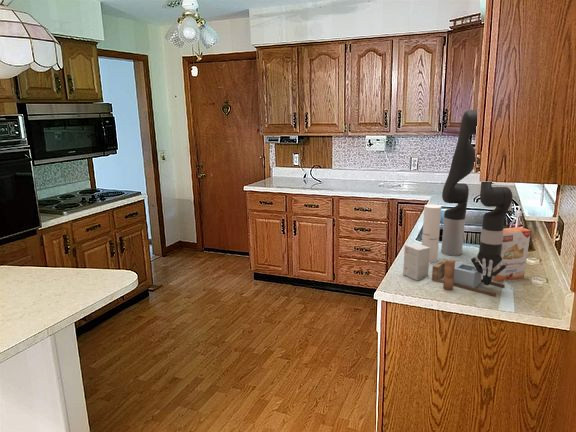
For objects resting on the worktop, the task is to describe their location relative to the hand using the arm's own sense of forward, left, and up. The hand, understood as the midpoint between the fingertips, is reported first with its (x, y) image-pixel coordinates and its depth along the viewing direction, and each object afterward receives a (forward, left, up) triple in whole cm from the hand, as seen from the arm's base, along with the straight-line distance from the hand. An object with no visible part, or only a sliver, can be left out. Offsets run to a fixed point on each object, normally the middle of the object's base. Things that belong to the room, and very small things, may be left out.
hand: (486, 284), depth 169 cm
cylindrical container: (-19, -31, -3) cm, 36 cm away
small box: (+3, -27, -3) cm, 27 cm away
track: (0, -7, -3) cm, 8 cm away
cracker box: (-17, +2, -3) cm, 17 cm away
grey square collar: (0, -8, -2) cm, 8 cm away
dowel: (+9, -11, -3) cm, 15 cm away
